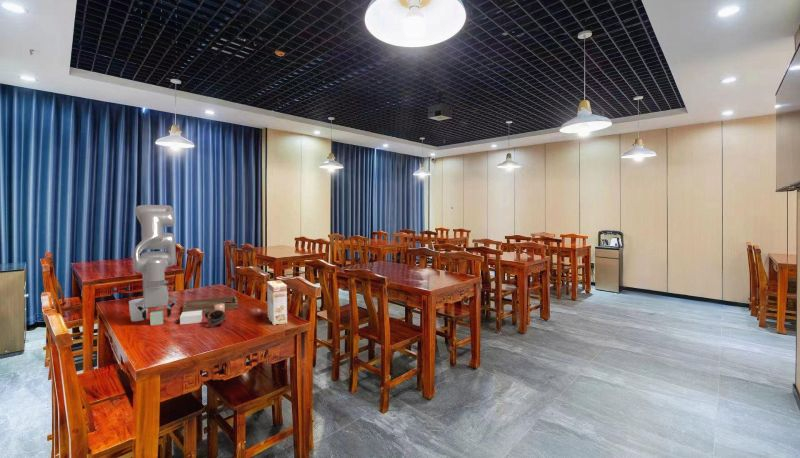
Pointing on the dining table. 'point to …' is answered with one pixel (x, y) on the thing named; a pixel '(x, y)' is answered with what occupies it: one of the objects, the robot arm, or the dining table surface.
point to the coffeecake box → (277, 302)
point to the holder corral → (207, 302)
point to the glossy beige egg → (220, 307)
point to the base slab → (191, 317)
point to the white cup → (136, 310)
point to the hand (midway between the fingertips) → (157, 317)
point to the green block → (156, 317)
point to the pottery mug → (215, 317)
